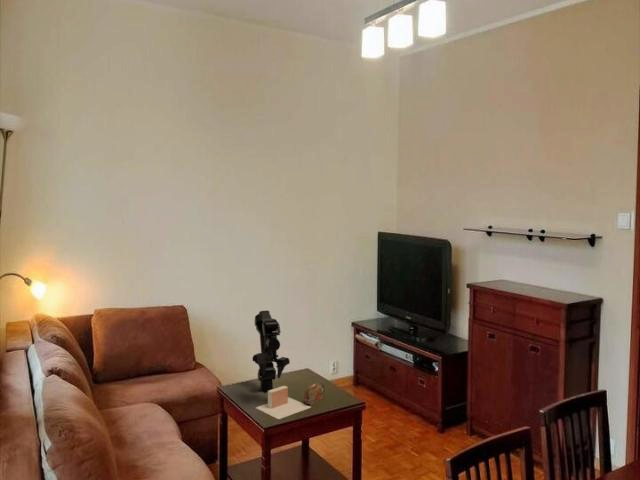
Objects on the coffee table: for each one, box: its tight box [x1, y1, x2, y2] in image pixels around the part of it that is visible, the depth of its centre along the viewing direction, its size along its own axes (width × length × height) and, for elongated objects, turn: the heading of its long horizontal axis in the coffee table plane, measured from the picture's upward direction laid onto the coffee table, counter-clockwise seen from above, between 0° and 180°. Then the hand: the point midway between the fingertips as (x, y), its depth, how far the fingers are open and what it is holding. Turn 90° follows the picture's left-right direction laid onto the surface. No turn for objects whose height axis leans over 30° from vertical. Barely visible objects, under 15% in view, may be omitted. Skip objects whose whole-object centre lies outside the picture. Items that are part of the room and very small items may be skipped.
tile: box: [267, 385, 289, 409], centre depth 257 cm, size 3×10×8 cm, turn 133°
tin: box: [304, 382, 325, 406], centre depth 263 cm, size 15×3×8 cm, turn 148°
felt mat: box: [255, 396, 312, 420], centre depth 255 cm, size 18×20×1 cm
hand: (271, 376), depth 262 cm, fingers open, 9 cm apart
